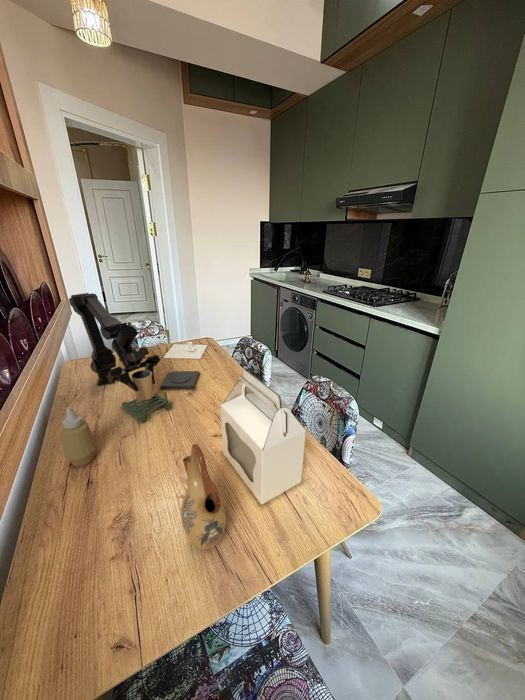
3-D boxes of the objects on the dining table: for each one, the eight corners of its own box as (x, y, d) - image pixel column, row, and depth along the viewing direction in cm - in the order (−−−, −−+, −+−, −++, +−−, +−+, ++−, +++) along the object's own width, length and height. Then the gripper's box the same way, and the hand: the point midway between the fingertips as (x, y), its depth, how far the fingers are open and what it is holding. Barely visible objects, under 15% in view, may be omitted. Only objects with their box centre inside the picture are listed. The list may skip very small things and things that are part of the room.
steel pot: (134, 393, 110) (130, 371, 106) (153, 389, 113) (150, 368, 109) (135, 402, 104) (132, 380, 100) (156, 398, 107) (153, 376, 103)
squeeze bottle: (105, 454, 87) (92, 404, 80) (79, 473, 81) (63, 420, 74) (87, 446, 90) (73, 397, 84) (61, 464, 84) (44, 412, 77)
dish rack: (122, 408, 110) (119, 391, 107) (151, 395, 119) (148, 379, 116) (142, 422, 102) (139, 404, 99) (171, 408, 111) (169, 391, 108)
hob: (160, 389, 123) (160, 384, 123) (169, 374, 136) (169, 369, 136) (193, 389, 124) (193, 384, 123) (199, 374, 137) (199, 369, 136)
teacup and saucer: (195, 352, 160) (195, 345, 159) (181, 352, 160) (180, 345, 159) (198, 346, 168) (198, 340, 167) (185, 346, 168) (184, 339, 167)
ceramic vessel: (175, 515, 69) (163, 430, 60) (210, 499, 74) (204, 417, 64) (197, 582, 56) (186, 487, 47) (239, 557, 61) (237, 466, 51)
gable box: (222, 452, 89) (218, 371, 78) (258, 437, 96) (259, 360, 85) (262, 506, 72) (263, 411, 61) (302, 482, 79) (310, 394, 68)
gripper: (104, 349, 96) (126, 389, 94) (154, 334, 109) (175, 369, 107) (98, 363, 103) (118, 401, 101) (146, 348, 117) (165, 381, 115)
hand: (145, 387), depth 106 cm, fingers closed on steel pot, 6 cm apart
